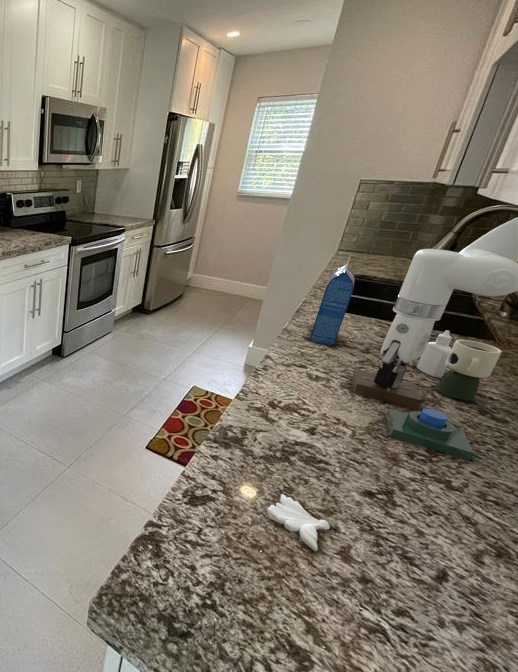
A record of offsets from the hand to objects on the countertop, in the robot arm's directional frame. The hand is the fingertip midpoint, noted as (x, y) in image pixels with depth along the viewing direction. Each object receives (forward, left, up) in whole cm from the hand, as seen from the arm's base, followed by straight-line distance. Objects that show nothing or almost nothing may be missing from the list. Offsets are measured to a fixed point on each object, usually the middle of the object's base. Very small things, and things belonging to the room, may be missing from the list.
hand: (387, 382), depth 94 cm
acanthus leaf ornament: (+14, +56, -4) cm, 58 cm away
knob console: (0, 0, -3) cm, 3 cm away
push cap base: (-5, +16, -3) cm, 17 cm away
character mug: (-14, -10, -4) cm, 18 cm away
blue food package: (+11, -31, -4) cm, 33 cm away
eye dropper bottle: (-11, -22, -4) cm, 25 cm away
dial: (0, 0, 0) cm, 0 cm away
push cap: (-5, +16, 0) cm, 17 cm away
